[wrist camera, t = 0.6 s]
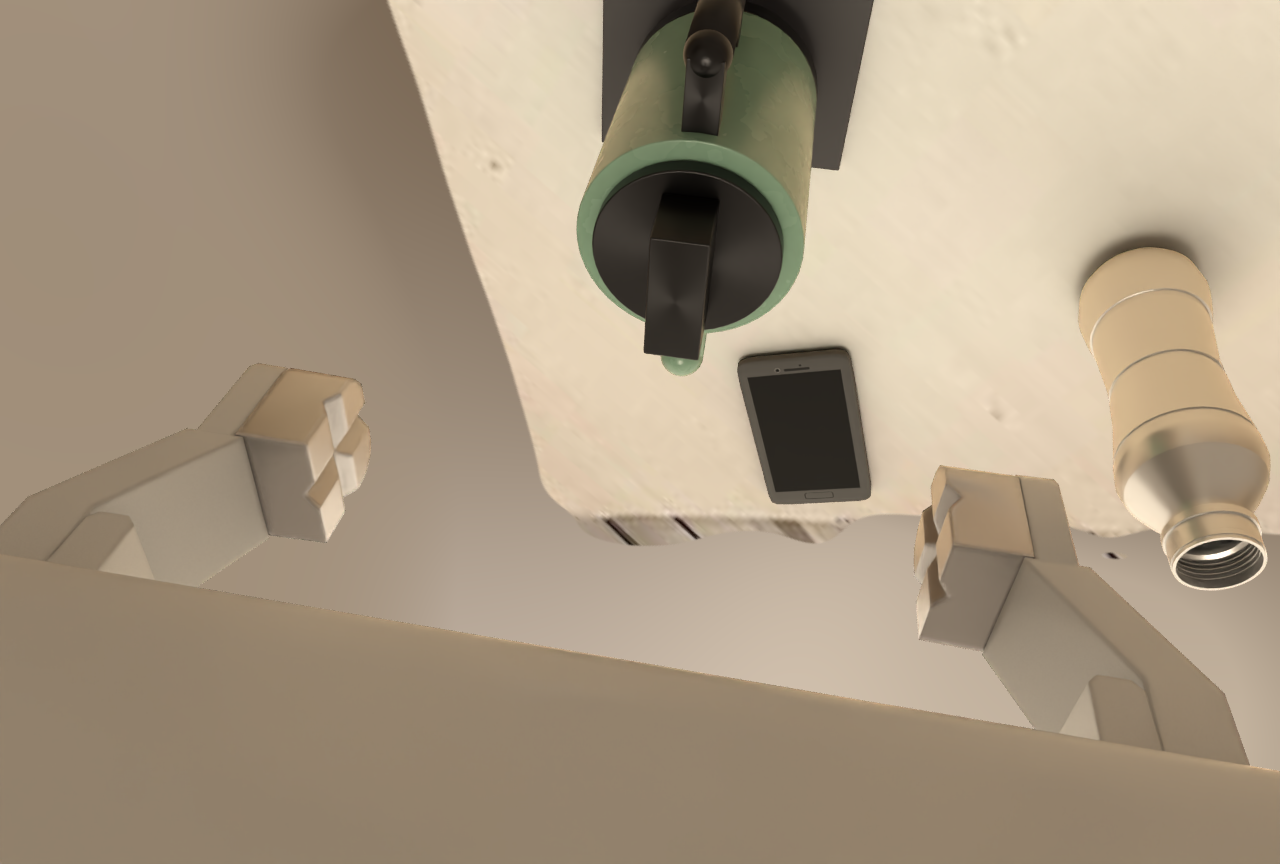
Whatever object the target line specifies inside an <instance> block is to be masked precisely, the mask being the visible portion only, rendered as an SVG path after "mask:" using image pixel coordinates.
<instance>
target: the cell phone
mask: <svg viewBox="0 0 1280 864" xmlns="http://www.w3.org/2000/svg"><path fill="white" fill-rule="evenodd" d="M737 372H738V377H739V382H740V387H741V390H742V394H743V398H744V402H745V406H746V410H747V413H748V417H749V421H750V425H751V429H752V433H753V436H754V440H755V444H756V448H757V452H758V456H759V459H760V463H761V467H762V471H763V475H764V479H765V482H766V486H767V490H768V494H769V497H770V499H771V501H772V502H773V503H776V504H804V503H825V502H845V501H861V500H866V499H868V498H869V497H870V496H871V481H870V475H869V468H868V462H867V456H866V449H865V443H864V437H863V430H862V424H861V417H860V411H859V405H858V398H857V392H856V386H855V379H854V373H853V368H852V363H851V358H850V356H849V354H848V353H847V351H844V350H836V349H832V350H821V351H811V352H800V353H790V354H779V355H769V356H759V357H748V358H746V359H744V360H741V361H740V362H739V363H738V369H737Z"/></svg>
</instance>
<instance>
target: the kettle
mask: <svg viewBox="0 0 1280 864" xmlns="http://www.w3.org/2000/svg"><path fill="white" fill-rule="evenodd" d="M817 93H818V89H817V76H816V70H815V66H814V63H813V60H812V57H811V55H810V53H809V51H808V49H807V47H806V45H805V43H804V42H803V40H802V39H801V37H800V36H799V35H798V33H797V32H796V31H795V30H794V29H793V28H792V27H791V26H790V25H789V24H788V23H787V22H786V21H785V20H783V19H782V18H781V17H780V16H778V15H777V14H775V13H773V12H772V11H770V10H768V9H766V8H764V7H762V6H760V5H757V4H754V3H751V2H748V1H746V0H698V2H694V3H691V4H689V5H686V6H683V7H681V8H679V9H678V10H676V11H674V12H672V13H671V14H669V15H668V16H667V17H665V18H664V19H662V20H661V21H660V22H659V23H658V24H657V25H656V26H655V27H654V28H653V29H652V30H651V32H650V33H649V34H648V36H647V37H646V38H645V40H644V42H643V44H642V45H641V47H640V49H639V51H638V54H637V56H636V59H635V62H634V64H633V67H632V70H631V72H630V75H629V77H628V80H627V83H626V85H625V88H624V91H623V93H622V96H621V98H620V101H619V104H618V106H617V109H616V112H615V114H614V117H613V120H612V122H611V125H610V127H609V130H608V133H607V135H606V138H605V141H604V143H603V146H602V148H601V151H600V154H599V156H598V159H597V162H596V164H595V167H594V170H593V172H592V175H591V177H590V180H589V183H588V185H587V188H586V191H585V193H584V196H583V199H582V201H581V204H580V208H579V212H578V216H577V241H578V246H579V250H580V254H581V257H582V259H583V262H584V265H585V267H586V269H587V271H588V272H589V274H590V276H591V278H592V279H593V281H594V282H595V283H596V285H597V286H598V287H599V289H600V290H601V291H602V292H603V293H604V294H605V295H606V296H607V297H608V298H609V299H610V300H611V301H612V302H614V303H615V304H616V305H617V306H618V307H620V308H621V309H623V310H624V311H626V312H627V313H628V314H630V315H632V316H634V317H636V318H638V319H639V320H641V321H644V322H645V336H644V353H646V354H653V355H661V360H662V363H663V365H664V367H665V368H666V369H667V370H668V371H669V372H670V373H672V374H674V375H677V376H687V375H690V374H692V373H694V372H695V371H696V370H697V369H698V368H699V367H700V365H701V363H702V360H703V355H704V348H705V341H706V334H707V333H713V332H721V331H726V330H730V329H734V328H737V327H740V326H743V325H745V324H748V323H750V322H752V321H754V320H756V319H758V318H760V317H761V316H763V315H764V314H766V313H767V312H769V311H770V310H771V309H772V308H773V307H775V306H776V305H777V304H778V303H779V302H780V301H781V300H782V299H783V298H784V296H785V295H786V294H787V293H788V292H789V290H790V288H791V287H792V285H793V284H794V282H795V280H796V278H797V276H798V273H799V271H800V268H801V264H802V260H803V254H804V244H805V233H806V221H807V209H808V198H809V186H810V175H811V163H812V151H813V140H814V128H815V116H816V105H817Z"/></svg>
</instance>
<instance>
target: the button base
mask: <svg viewBox="0 0 1280 864" xmlns="http://www.w3.org/2000/svg"><path fill="white" fill-rule="evenodd" d="M746 1H748V2H751V3H754V4H757V5H760V6H762V7H764V8H766V9H768V10H770V11H772V12H773V13H775V14H777V15H778V16H780V17H781V18H782V19H783V20H785V21H786V22H787V23H788V24H789V25H790V26H791V27H792V28H793V29H794V30H795V31H796V32H797V33H798V35H799V36H800V37H801V39H802V40H803V42H804V43H805V45H806V47H807V49H808V51H809V53H810V55H811V57H812V60H813V63H814V66H815V70H816V76H817V89H818V93H817V105H816V116H815V128H814V140H813V151H812V163H811V167H813V168H821V169H830V170H839V166H840V161H841V156H842V152H843V147H844V142H845V137H846V132H847V127H848V122H849V118H850V113H851V108H852V103H853V98H854V93H855V88H856V83H857V79H858V74H859V69H860V64H861V59H862V54H863V49H864V45H865V40H866V35H867V30H868V25H869V20H870V15H871V11H872V6H873V1H874V0H746ZM694 2H698V0H603V81H602V142H604V141H605V138H606V135H607V133H608V130H609V127H610V125H611V122H612V120H613V117H614V114H615V112H616V109H617V106H618V104H619V101H620V98H621V96H622V93H623V91H624V88H625V85H626V83H627V80H628V77H629V75H630V72H631V70H632V67H633V64H634V62H635V59H636V56H637V54H638V51H639V49H640V47H641V45H642V44H643V42H644V40H645V38H646V37H647V36H648V34H649V33H650V32H651V30H652V29H653V28H654V27H655V26H656V25H657V24H658V23H659V22H660V21H661V20H662V19H664V18H665V17H667V16H668V15H669V14H671V13H672V12H674V11H676V10H678V9H679V8H681V7H683V6H686V5H689V4H691V3H694Z"/></svg>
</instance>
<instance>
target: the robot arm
mask: <svg viewBox="0 0 1280 864" xmlns="http://www.w3.org/2000/svg"><path fill="white" fill-rule="evenodd" d="M364 404H365V400H364V394H363V389H362V384H361V383H359V382H358V381H357V380H356V379H353V378H346V377H341V376H335V375H329V374H323V373H317V372H311V371H305V370H300V369H294V368H290V369H288V368H285V367H278V366H272V365H266V364H261V363H258V364H255V365H252V366H249V367H248V368H247V370H246V371H245V372H244V373H243V374H242V376H241V377H240V378H239V380H237V382H236V383H235V384H234V385H233V387H232V388H231V389H230V390H229V391H228V393H227V394H226V395H225V396H224V397H223V399H222V400H221V401H220V402H219V403H218V405H217V406H216V407H215V408H214V409H213V411H212V412H211V413H210V414H209V415H208V417H207V418H206V419H205V420H204V422H203V423H202V424H201V425H200V426H199V427H198V429H197V430H194V429H188V428H186V429H184V430H182V431H179V432H177V433H175V434H173V435H170V436H168V437H166V438H163V439H161V440H159V441H156V442H154V443H152V444H150V445H147V446H145V447H142V448H140V449H138V450H135V451H133V452H131V453H128V454H126V455H124V456H121V457H119V458H117V459H114V460H112V461H110V462H107V463H105V464H103V465H101V466H98V467H96V468H94V469H91V470H89V471H87V472H84V473H82V474H80V475H77V476H75V477H73V478H70V479H68V480H66V481H63V482H61V483H59V484H57V485H54V486H52V487H49V488H48V489H45V490H42V491H40V492H38V493H36V494H33V495H31V496H29V497H27V498H26V499H25V501H23V502H22V503H21V504H20V506H19V507H18V508H17V509H16V510H15V511H14V512H13V513H12V514H11V515H10V516H9V517H8V518H7V519H6V520H5V521H4V522H3V523H2V524H1V525H0V864H1280V771H1277V770H1272V769H1265V768H1259V767H1253V766H1250V764H1249V762H1248V759H1247V756H1246V753H1245V750H1244V747H1243V744H1242V742H1241V739H1240V736H1239V733H1238V730H1237V727H1236V724H1235V722H1234V719H1233V716H1232V713H1231V710H1230V707H1229V705H1228V702H1227V699H1226V696H1225V694H1224V693H1223V692H1222V691H1221V690H1220V689H1219V688H1218V687H1217V686H1216V685H1215V684H1214V683H1213V682H1212V681H1211V680H1210V679H1209V678H1207V677H1206V676H1205V675H1204V674H1203V673H1202V672H1201V671H1200V670H1199V669H1198V668H1197V667H1196V666H1195V665H1194V664H1192V663H1191V662H1190V661H1189V660H1188V659H1187V658H1186V657H1185V656H1184V655H1183V654H1182V653H1181V652H1180V651H1179V650H1178V649H1177V648H1175V647H1174V646H1173V645H1172V644H1171V643H1170V642H1169V641H1168V640H1167V639H1166V638H1165V637H1164V636H1163V635H1162V634H1161V633H1160V632H1158V631H1157V630H1156V629H1155V628H1154V627H1153V626H1152V625H1151V624H1150V623H1149V622H1148V621H1147V620H1146V619H1145V618H1144V617H1142V616H1141V615H1140V614H1139V613H1138V612H1137V611H1136V610H1135V609H1134V608H1133V607H1132V606H1131V605H1129V603H1128V602H1126V601H1125V600H1124V599H1123V598H1122V597H1121V596H1120V595H1119V594H1118V593H1117V592H1116V591H1115V590H1114V589H1113V588H1112V587H1110V586H1109V585H1108V584H1107V583H1106V582H1105V581H1104V580H1103V579H1102V578H1101V577H1100V576H1099V575H1098V574H1097V573H1095V572H1094V571H1093V570H1092V569H1091V568H1090V567H1084V566H1079V563H1078V559H1077V555H1076V551H1075V547H1074V543H1073V539H1072V535H1071V532H1070V527H1069V523H1068V519H1067V515H1066V511H1065V507H1064V504H1063V500H1062V496H1061V492H1060V488H1059V484H1058V483H1057V482H1056V481H1055V480H1054V479H1046V478H1038V477H1030V476H1022V475H1015V476H1013V475H1007V474H1000V473H992V472H985V471H978V470H971V469H964V468H957V467H950V466H943V465H940V466H939V468H938V470H937V471H936V473H935V476H934V479H933V482H932V485H931V496H932V505H931V506H930V507H928V508H927V509H925V510H924V511H923V512H922V516H921V519H920V523H919V526H918V529H917V535H916V541H915V547H914V577H915V578H916V579H917V581H918V582H919V583H920V584H921V585H922V586H921V589H920V592H919V595H918V598H917V601H916V608H917V620H918V634H919V640H923V641H929V642H934V643H939V644H944V645H949V646H955V647H960V648H965V649H971V650H976V651H981V652H983V654H982V655H983V656H984V658H985V659H986V661H987V662H988V664H989V665H990V667H991V668H992V669H993V671H994V672H995V674H996V675H997V676H998V678H999V679H1000V681H1001V682H1002V683H1003V685H1004V686H1005V688H1006V689H1007V691H1008V692H1009V693H1010V695H1011V696H1012V698H1013V699H1014V700H1015V702H1016V703H1017V705H1018V706H1019V708H1020V709H1021V710H1022V712H1023V713H1024V715H1025V716H1026V717H1027V719H1028V720H1029V722H1030V723H1031V724H1032V726H1033V727H1034V729H1030V728H1024V727H1018V726H1012V725H1006V724H1001V723H994V722H989V721H983V720H977V719H971V718H965V717H959V716H953V715H947V714H942V713H935V712H929V711H923V710H917V709H911V708H905V707H899V706H893V705H887V704H881V703H875V702H869V701H863V700H858V699H852V698H845V697H839V696H834V695H828V694H822V693H817V692H811V691H805V690H799V689H793V688H787V687H781V686H776V685H770V684H764V683H758V682H752V681H746V680H740V679H735V678H729V677H723V676H717V675H711V674H705V673H700V672H694V671H688V670H682V669H676V668H671V667H664V666H659V665H653V664H647V663H641V662H635V661H629V660H623V659H617V658H612V657H606V656H600V655H594V654H588V653H581V652H576V651H570V650H564V649H558V648H552V647H546V646H540V645H534V644H528V643H523V642H517V641H511V640H505V639H499V638H493V637H486V636H481V635H475V634H468V633H463V632H457V631H451V630H445V629H439V628H434V627H428V626H421V625H416V624H410V623H404V622H398V621H392V620H386V619H381V618H375V617H369V616H363V615H357V614H351V613H345V612H339V611H334V610H328V609H322V608H316V607H310V606H304V605H298V604H292V603H286V602H280V601H275V600H269V599H263V598H257V597H251V596H245V595H239V594H234V593H228V592H221V591H216V590H210V589H204V588H198V586H199V585H201V584H202V583H204V582H205V581H207V580H208V579H210V578H211V577H213V576H214V575H216V574H217V573H219V572H220V571H221V570H223V569H224V568H226V567H227V566H229V565H230V564H232V563H233V562H235V561H236V560H237V559H239V558H241V557H242V556H244V555H245V554H247V553H248V552H250V551H251V550H252V549H254V548H255V547H257V546H258V545H260V544H261V543H263V542H264V541H266V540H267V539H269V535H271V536H279V537H286V538H293V539H302V540H309V541H316V542H324V543H327V541H328V539H329V538H330V536H331V534H332V533H333V531H334V529H335V527H336V526H337V524H338V522H339V521H340V519H341V517H342V516H343V514H344V512H345V506H344V501H343V497H345V496H346V495H348V494H350V493H352V492H354V491H355V490H357V489H358V488H359V486H360V484H361V482H362V480H363V479H364V477H365V475H366V471H367V467H368V463H369V460H370V451H371V439H370V431H369V427H368V426H367V424H366V423H365V422H364V421H363V420H362V419H361V418H360V417H359V415H358V414H359V412H360V410H361V409H362V407H363V406H364Z"/></svg>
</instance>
